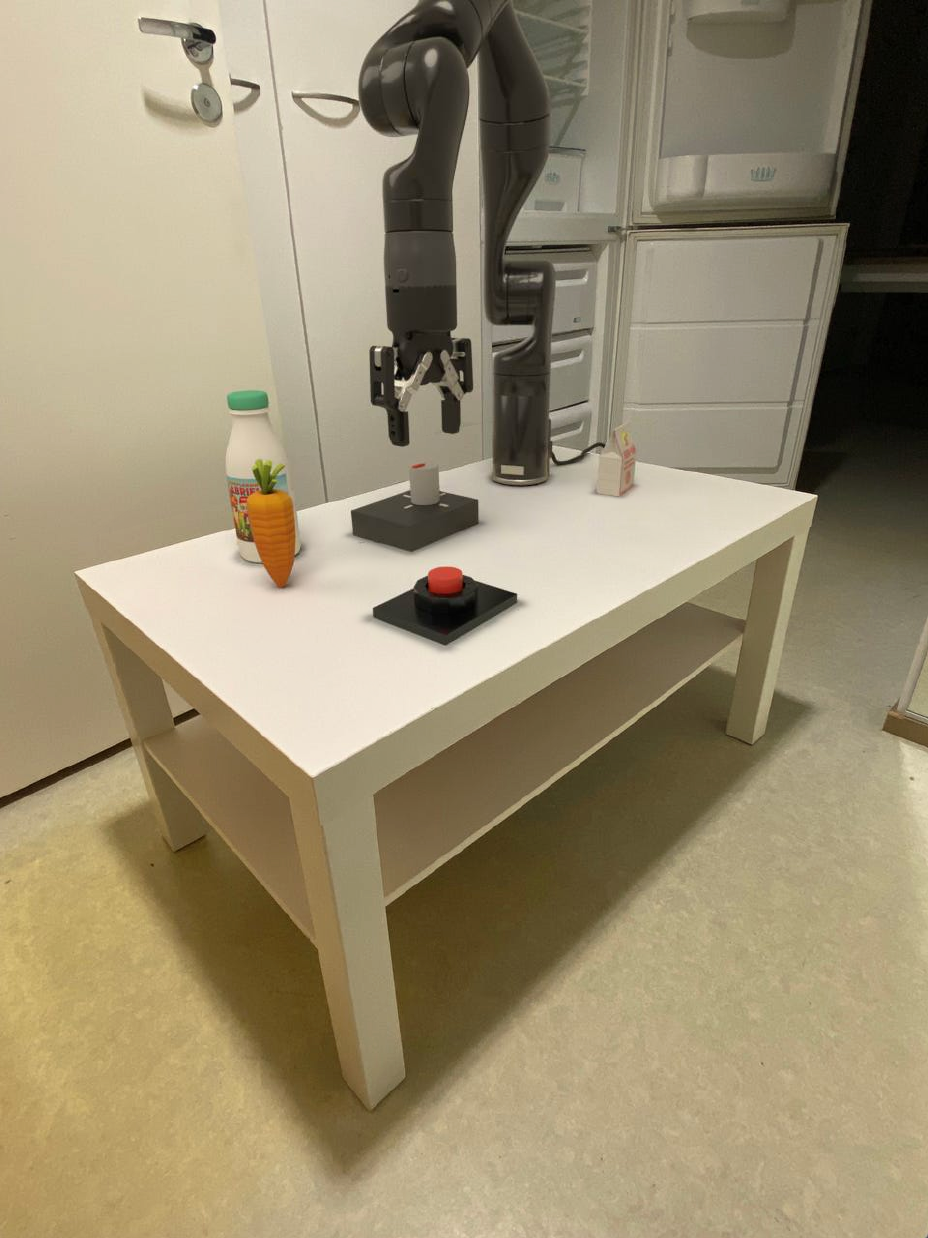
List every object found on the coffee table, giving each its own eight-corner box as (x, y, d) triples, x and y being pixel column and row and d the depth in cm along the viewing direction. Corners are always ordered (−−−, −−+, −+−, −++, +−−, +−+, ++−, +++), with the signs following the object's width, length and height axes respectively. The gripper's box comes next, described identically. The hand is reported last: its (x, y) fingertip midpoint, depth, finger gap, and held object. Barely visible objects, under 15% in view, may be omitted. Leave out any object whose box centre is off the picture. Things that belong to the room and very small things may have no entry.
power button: (443, 578, 76) (443, 563, 75) (469, 586, 74) (469, 571, 73) (421, 589, 73) (420, 574, 73) (447, 598, 71) (447, 582, 71)
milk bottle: (250, 542, 94) (225, 387, 85) (307, 542, 94) (288, 386, 85) (231, 564, 87) (201, 398, 78) (293, 564, 87) (270, 397, 78)
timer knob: (425, 494, 100) (423, 457, 98) (445, 500, 98) (444, 462, 95) (405, 501, 98) (402, 463, 95) (425, 507, 95) (423, 468, 93)
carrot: (263, 580, 83) (243, 453, 76) (306, 578, 83) (289, 451, 76) (256, 597, 78) (233, 465, 72) (300, 595, 79) (283, 463, 72)
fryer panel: (421, 508, 106) (420, 485, 104) (478, 523, 99) (478, 498, 98) (352, 534, 96) (350, 509, 95) (411, 552, 90) (409, 525, 88)
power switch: (447, 580, 82) (446, 556, 80) (517, 603, 76) (517, 578, 75) (373, 618, 74) (370, 592, 72) (445, 646, 68) (444, 618, 66)
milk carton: (596, 493, 111) (601, 429, 107) (611, 482, 116) (616, 421, 112) (618, 496, 110) (624, 431, 105) (633, 485, 115) (639, 423, 110)
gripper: (439, 282, 81) (442, 426, 88) (345, 283, 71) (357, 445, 78) (490, 281, 76) (490, 433, 83) (398, 282, 66) (406, 454, 73)
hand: (426, 438), depth 80 cm, fingers open, 8 cm apart
